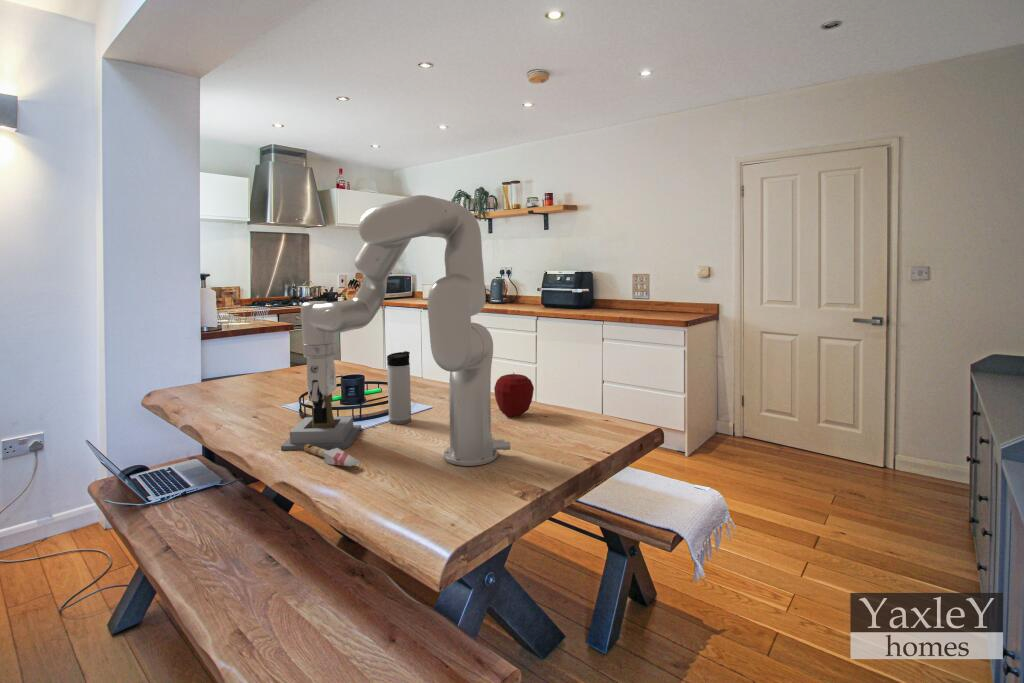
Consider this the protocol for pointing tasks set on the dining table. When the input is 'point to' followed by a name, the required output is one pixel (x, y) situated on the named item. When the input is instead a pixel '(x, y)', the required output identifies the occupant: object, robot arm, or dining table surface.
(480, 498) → the dining table surface
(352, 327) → the robot arm
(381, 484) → the dining table surface
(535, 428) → the dining table surface
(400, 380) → the travel mug
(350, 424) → the holder
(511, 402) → the apple
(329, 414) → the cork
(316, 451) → the paintbrush
